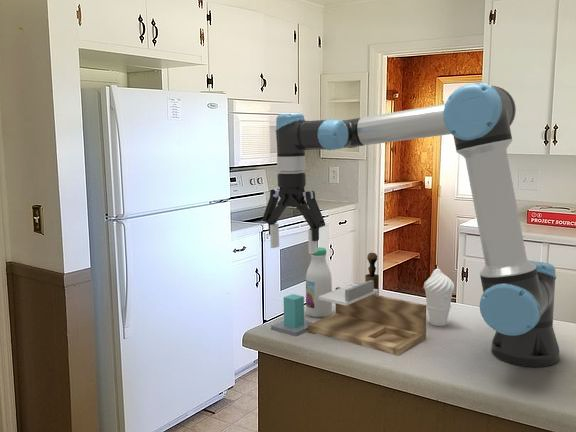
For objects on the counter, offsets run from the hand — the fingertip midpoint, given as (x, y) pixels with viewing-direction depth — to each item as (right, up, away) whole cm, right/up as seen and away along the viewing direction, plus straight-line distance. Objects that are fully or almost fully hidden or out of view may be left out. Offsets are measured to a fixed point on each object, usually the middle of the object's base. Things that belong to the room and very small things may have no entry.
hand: (293, 250), depth 156 cm
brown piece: (+19, -23, -4) cm, 30 cm away
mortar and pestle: (+24, -20, +17) cm, 35 cm away
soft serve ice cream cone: (+41, -21, +4) cm, 46 cm away
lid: (+15, -19, 0) cm, 25 cm away
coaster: (0, -22, +4) cm, 22 cm away
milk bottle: (+8, -20, +15) cm, 26 cm away
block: (0, -21, +3) cm, 21 cm away
